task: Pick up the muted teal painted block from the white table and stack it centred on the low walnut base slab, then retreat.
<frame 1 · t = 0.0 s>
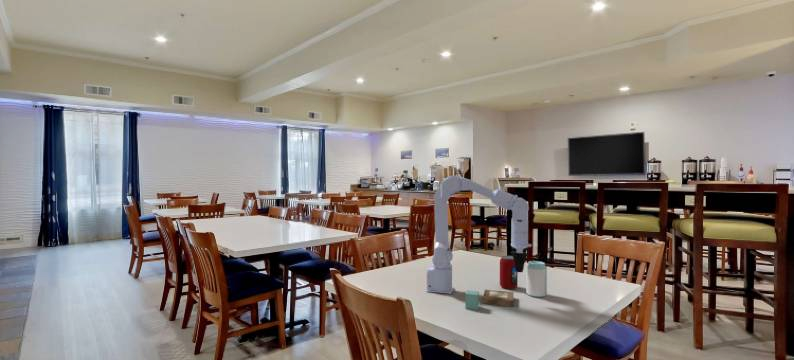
hand: (519, 269, 139), 10 cm above the table, fingers open, 7 cm apart
walnut base: (498, 300, 135), on the table
teal block: (472, 307, 128), on the table
can: (536, 295, 142), on the table
beverage can: (508, 288, 151), on the table
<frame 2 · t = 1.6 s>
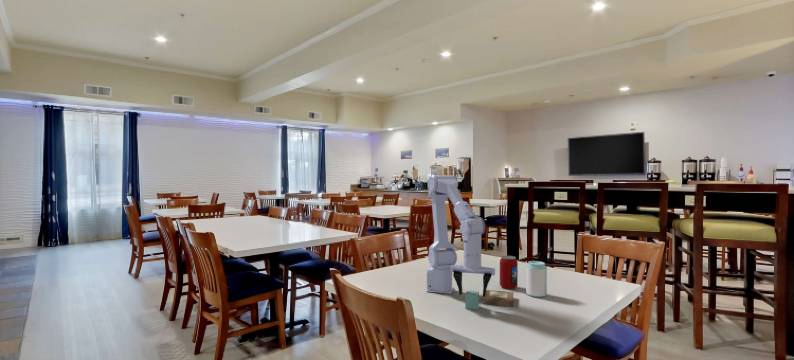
hand: (472, 294, 128), 4 cm above the table, fingers open, 7 cm apart
nothing on the table moved.
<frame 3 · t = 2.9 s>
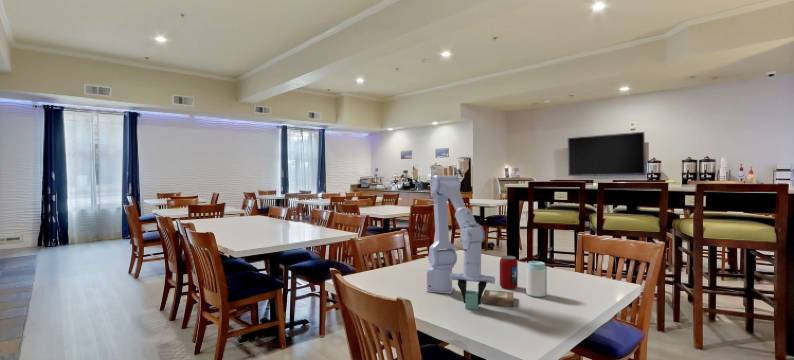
hand: (472, 303, 128), 1 cm above the table, fingers closed on teal block, 4 cm apart
teal block: (472, 307, 128), on the table, touching gripper
everything else where it was.
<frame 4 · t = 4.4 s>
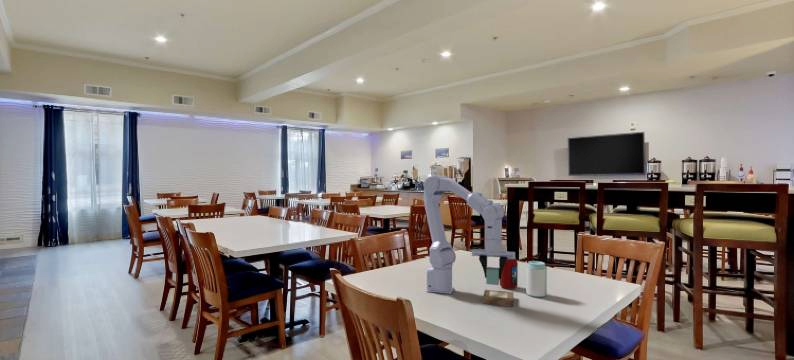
hand: (493, 277, 133), 8 cm above the table, fingers closed on teal block, 4 cm apart
teal block: (492, 283, 133), point 7 cm above the table, touching gripper
everything else where it was.
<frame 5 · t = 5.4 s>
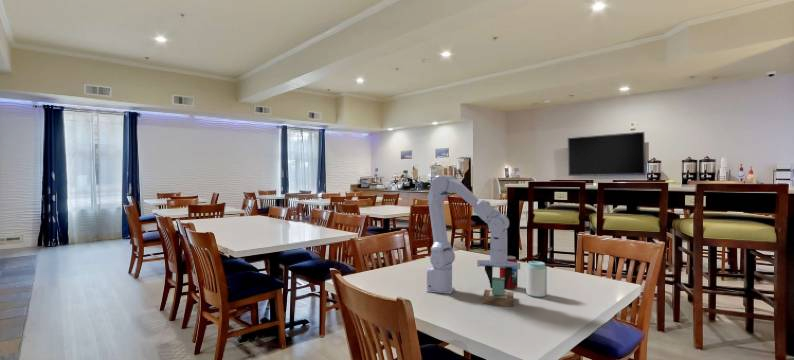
hand: (498, 288, 135), 4 cm above the table, fingers closed on teal block, 4 cm apart
teal block: (498, 293, 135), point 3 cm above the table, touching gripper
everything else where it was.
when the fingers open (4 cm above the table, at t = 6.2 s): teal block stays where it is, resting on walnut base.
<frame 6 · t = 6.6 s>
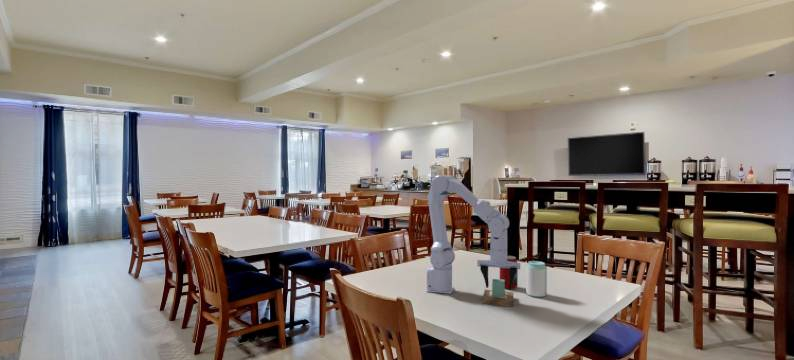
hand: (498, 288, 135), 4 cm above the table, fingers open, 7 cm apart
teal block: (498, 294, 135), point 2 cm above the table, touching walnut base
everything else where it was.
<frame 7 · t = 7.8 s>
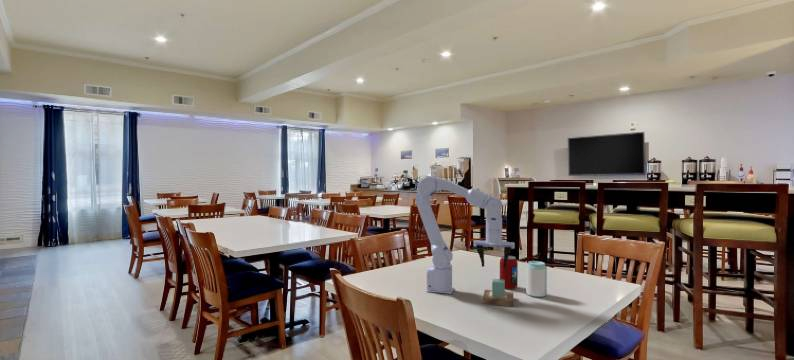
hand: (493, 266, 141), 10 cm above the table, fingers open, 7 cm apart
nothing on the table moved.
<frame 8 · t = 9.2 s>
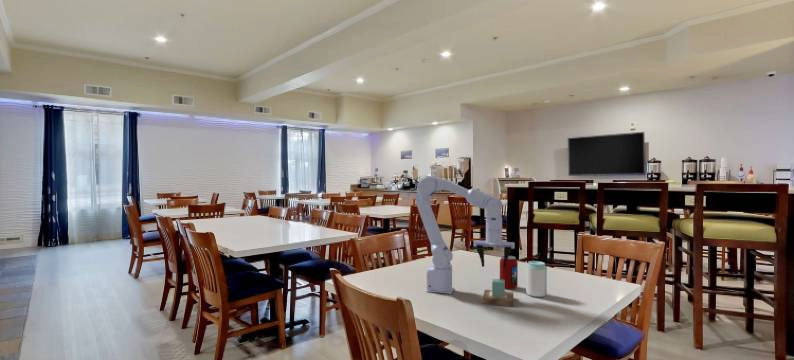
hand: (493, 266, 141), 10 cm above the table, fingers open, 7 cm apart
nothing on the table moved.
at the end: teal block inside the target area on the walnut base (0.3 cm from its centre), point 2.1 cm above the walnut base's base; teal block tilted 0°; the gripper is holding nothing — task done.
